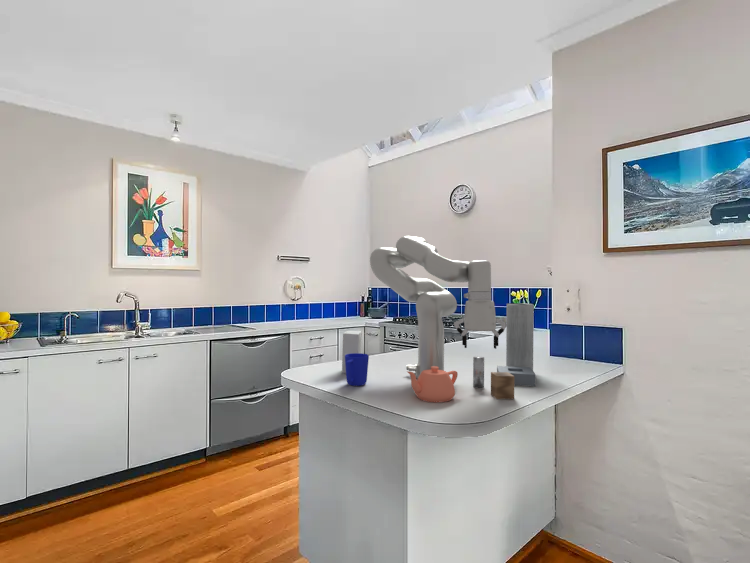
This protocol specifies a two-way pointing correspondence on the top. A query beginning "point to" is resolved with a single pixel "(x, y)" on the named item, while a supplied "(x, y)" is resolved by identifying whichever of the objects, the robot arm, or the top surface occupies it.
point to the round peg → (478, 372)
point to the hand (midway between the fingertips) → (480, 347)
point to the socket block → (520, 375)
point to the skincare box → (350, 345)
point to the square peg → (502, 385)
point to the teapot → (434, 385)
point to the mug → (356, 368)
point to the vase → (519, 335)
